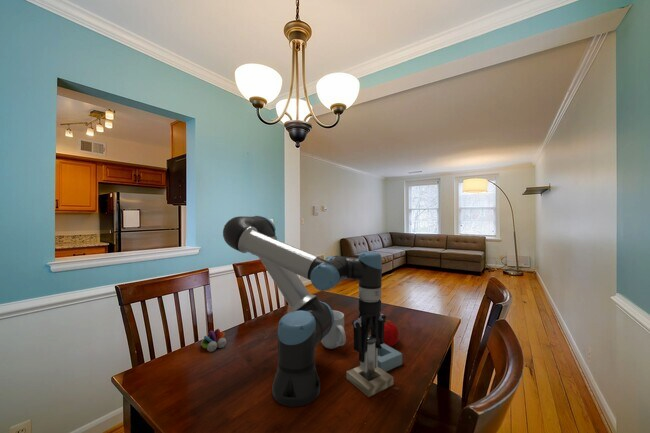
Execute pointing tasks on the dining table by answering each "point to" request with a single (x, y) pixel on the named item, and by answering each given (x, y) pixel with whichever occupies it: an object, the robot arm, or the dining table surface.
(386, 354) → the socket
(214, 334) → the multicoloured knobbly toy
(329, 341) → the mug
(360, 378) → the beige square frame
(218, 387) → the dining table surface
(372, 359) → the pin
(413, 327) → the dining table surface
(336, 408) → the dining table surface
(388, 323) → the tomato
